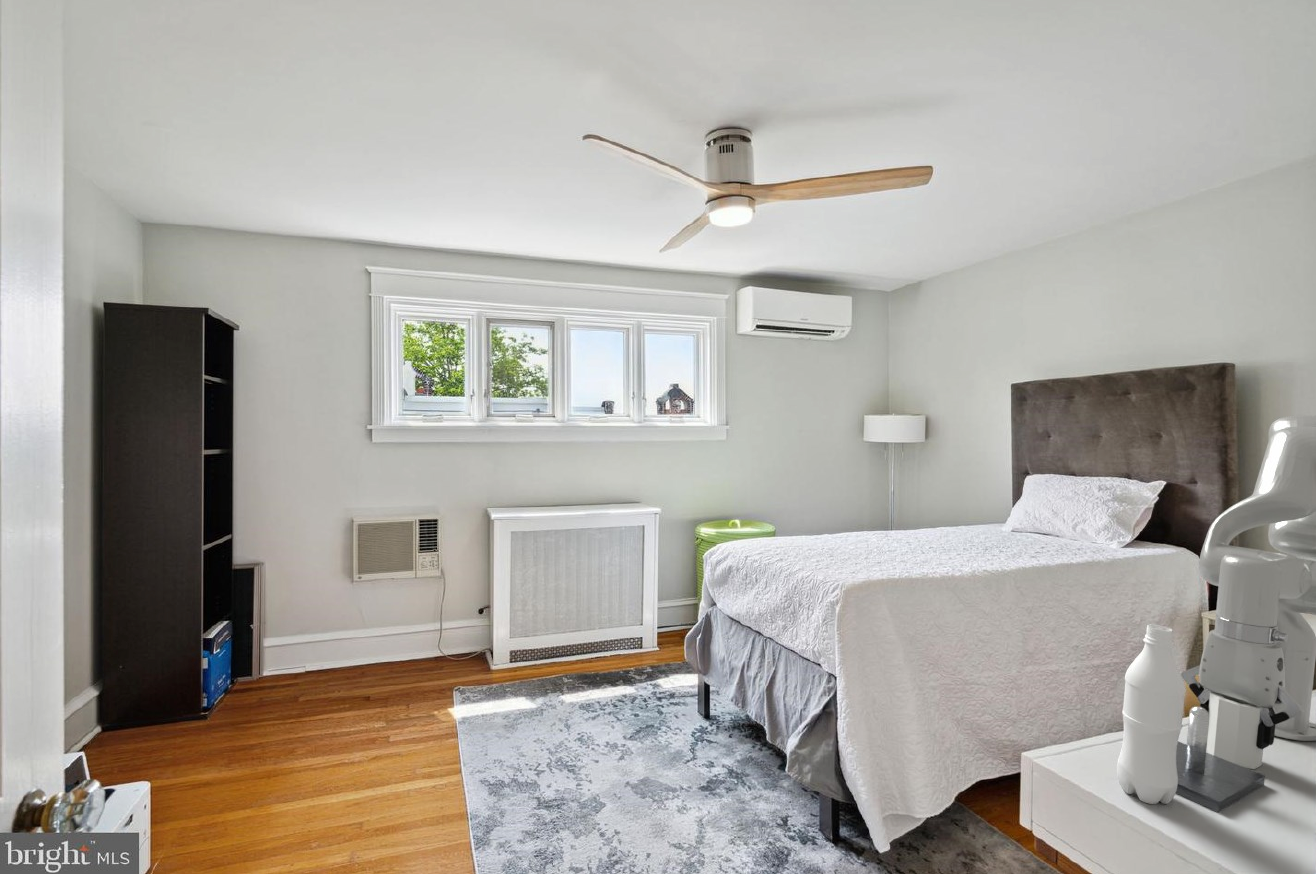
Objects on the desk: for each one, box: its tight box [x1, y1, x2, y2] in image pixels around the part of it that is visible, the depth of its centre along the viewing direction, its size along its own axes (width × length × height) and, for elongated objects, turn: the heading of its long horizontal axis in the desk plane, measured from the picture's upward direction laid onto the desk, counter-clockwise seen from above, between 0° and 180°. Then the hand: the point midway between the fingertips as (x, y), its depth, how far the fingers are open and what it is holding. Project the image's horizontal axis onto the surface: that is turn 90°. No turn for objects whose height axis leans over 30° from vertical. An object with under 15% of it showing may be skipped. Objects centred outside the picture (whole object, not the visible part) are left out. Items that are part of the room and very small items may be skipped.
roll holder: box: [1175, 705, 1266, 813], centre depth 103 cm, size 16×12×11 cm
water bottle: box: [1116, 623, 1187, 805], centre depth 97 cm, size 7×7×25 cm
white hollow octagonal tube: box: [1206, 692, 1264, 770], centre depth 110 cm, size 7×7×10 cm
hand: (1234, 735), depth 110 cm, fingers closed on white hollow octagonal tube, 6 cm apart
